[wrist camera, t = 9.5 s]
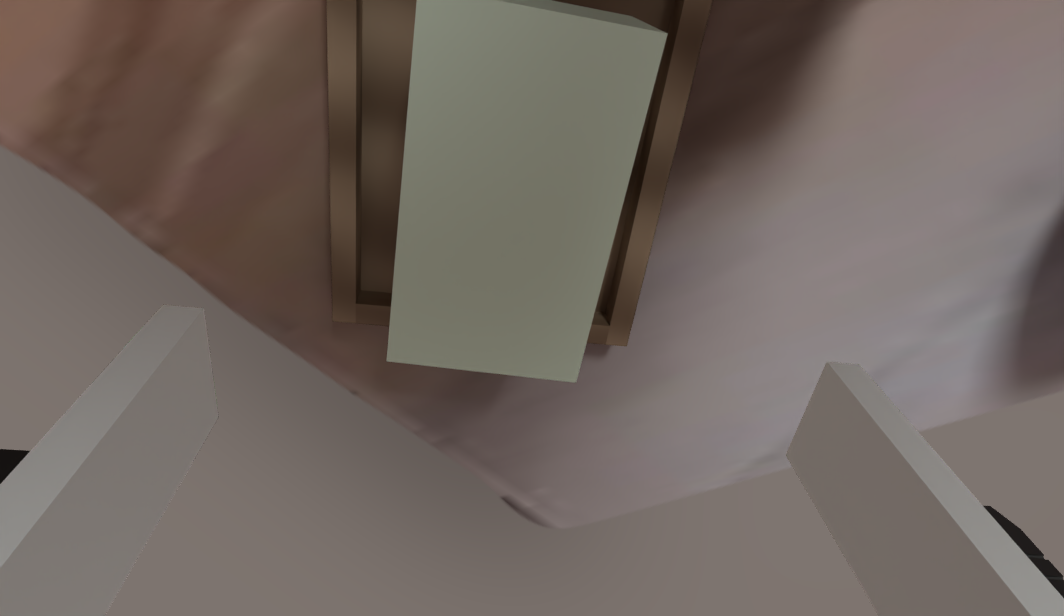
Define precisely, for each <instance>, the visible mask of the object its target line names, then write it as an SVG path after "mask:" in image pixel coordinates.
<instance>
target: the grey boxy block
mask: <svg viewBox="0 0 1064 616" xmlns="http://www.w3.org/2000/svg"><path fill="white" fill-rule="evenodd" d="M667 34H668V33H665V32H663V31H661V30H659V29H657V28H655V27H653V26H651V25H649V24H647V23H645V22H643V21H641V20H639V19H636V18H634V17H632V16H628V15H623V14H618V13H613V12H608V11H603V10H598V9H593V8H588V7H583V6H578V5H573V4H568V3H563V2H558V1H552V0H417V2H416V14H415V26H414V38H413V50H412V62H411V74H410V86H409V98H408V110H407V122H406V134H405V146H404V158H403V170H402V182H401V194H400V206H399V217H398V229H397V241H396V253H395V265H394V277H393V289H392V301H391V313H390V325H389V337H388V349H387V361H388V362H397V363H406V364H414V365H423V366H432V367H441V368H450V369H459V370H467V371H476V372H485V373H494V374H503V375H512V376H520V377H529V378H538V379H547V380H556V381H565V382H573V383H576V381H577V378H578V374H579V370H580V366H581V362H582V359H583V355H584V351H585V347H586V343H587V339H588V336H589V332H590V328H591V324H592V320H593V317H594V313H595V309H596V305H597V301H598V298H599V294H600V290H601V286H602V282H603V278H604V275H605V271H606V267H607V263H608V259H609V256H610V252H611V248H612V244H613V240H614V237H615V233H616V229H617V225H618V221H619V217H620V214H621V210H622V206H623V202H624V198H625V195H626V191H627V187H628V183H629V179H630V175H631V172H632V168H633V164H634V160H635V156H636V153H637V149H638V145H639V141H640V137H641V134H642V130H643V126H644V122H645V118H646V114H647V111H648V107H649V103H650V99H651V95H652V92H653V88H654V84H655V80H656V76H657V73H658V69H659V65H660V61H661V57H662V53H663V50H664V46H665V42H666V38H667Z"/></svg>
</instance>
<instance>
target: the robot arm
mask: <svg viewBox="0 0 1064 616" xmlns="http://www.w3.org/2000/svg"><path fill="white" fill-rule="evenodd" d="M218 417H219V416H218V408H217V401H216V393H215V386H214V379H213V371H212V363H211V356H210V348H209V341H208V333H207V326H206V318H205V311H204V308H198V307H186V306H175V305H162V306H161V307H160V308H159V310H158V311H157V312H156V313H155V314H154V315H153V316H152V317H151V318H150V319H149V321H148V322H147V323H146V324H145V325H144V326H143V327H142V328H141V330H140V331H139V332H138V333H137V334H136V335H135V336H134V337H133V338H132V339H131V341H130V342H129V343H128V344H127V345H126V346H125V347H124V348H123V349H122V351H121V352H120V353H119V354H118V355H117V356H116V357H115V358H114V359H113V360H112V362H111V363H110V364H109V365H108V366H107V367H106V368H105V369H104V371H102V372H101V374H100V375H99V376H98V377H97V378H96V379H95V380H94V381H93V382H92V384H91V385H90V386H89V387H88V388H87V389H86V390H85V391H84V392H83V394H82V395H81V396H80V397H79V398H78V399H77V400H76V401H75V402H74V403H73V405H72V406H71V407H70V408H69V409H68V410H67V411H66V412H65V413H64V415H63V416H62V417H61V418H60V419H59V420H58V421H57V422H56V424H54V426H53V427H52V428H51V429H50V430H49V431H48V432H47V433H46V435H44V437H43V438H42V439H41V440H40V441H39V442H38V443H37V444H36V445H35V447H34V448H33V449H32V450H31V451H23V450H6V449H0V616H105V615H106V613H107V611H108V609H109V608H110V606H111V604H112V602H113V601H114V599H115V597H116V595H117V594H118V592H119V590H120V588H121V586H122V585H123V583H124V581H125V580H126V578H127V576H128V574H129V573H130V571H131V569H132V567H133V566H134V564H135V562H136V560H137V559H138V557H139V555H140V553H141V552H142V550H143V548H144V546H145V545H146V543H147V541H148V539H149V538H150V536H151V534H152V533H153V531H154V529H155V527H156V526H157V524H158V522H159V520H160V518H161V517H162V515H163V513H164V512H165V510H166V508H167V506H168V505H169V503H170V501H171V499H172V497H173V496H174V494H175V492H176V491H177V489H178V487H179V485H180V484H181V482H182V480H183V478H184V477H185V475H186V473H187V471H188V470H189V468H190V466H191V465H192V463H193V461H194V459H195V457H196V456H197V454H198V452H199V450H200V449H201V447H202V445H203V444H204V441H205V440H206V438H207V437H208V435H209V433H210V431H211V430H212V428H213V426H214V424H215V423H216V421H217V419H218ZM786 456H787V458H788V460H789V462H790V463H791V465H792V467H793V469H794V470H795V472H796V474H797V476H798V477H799V479H800V481H801V483H802V484H803V486H804V487H805V489H806V491H807V493H808V495H809V496H810V498H811V499H812V502H813V503H814V505H815V507H816V509H817V510H818V512H819V514H820V515H821V517H822V519H823V521H824V522H825V524H826V526H827V528H828V529H829V531H830V533H831V534H832V536H833V538H834V539H835V541H836V543H837V545H838V547H839V548H840V550H841V552H842V554H843V555H844V557H845V558H846V561H847V562H848V564H849V566H850V567H851V569H852V571H853V573H854V574H855V576H856V578H857V579H858V581H859V583H860V585H861V586H862V588H863V590H864V592H865V593H866V595H867V597H868V599H869V600H870V602H871V604H872V606H873V607H874V609H875V611H876V613H877V614H878V616H1064V580H1063V575H1062V574H1061V573H1060V572H1059V571H1058V570H1057V569H1056V568H1055V567H1054V566H1053V564H1051V562H1050V561H1049V560H1045V559H1044V558H1043V556H1044V555H1043V553H1042V552H1041V551H1040V550H1039V549H1038V548H1037V547H1036V546H1035V545H1034V543H1033V542H1032V541H1031V540H1030V539H1029V538H1028V537H1027V536H1026V535H1025V533H1024V532H1023V531H1021V529H1020V528H1018V527H1017V526H1015V525H1014V524H1013V523H1012V522H1011V521H1009V520H1008V519H1007V518H1005V517H1004V516H1003V515H1001V514H1000V513H999V512H997V511H996V510H995V509H993V508H992V507H991V506H983V505H982V504H981V503H980V502H979V501H978V500H977V499H976V497H975V496H974V495H973V494H972V493H971V492H970V491H969V489H968V488H967V487H966V486H965V485H964V484H963V483H962V482H961V480H960V479H959V478H958V477H957V476H956V475H955V473H954V472H953V471H952V470H951V469H950V468H949V467H948V465H947V464H946V463H945V462H944V461H943V460H942V459H941V457H940V456H939V455H938V454H937V453H936V452H935V451H934V449H933V448H932V447H931V446H930V445H929V444H928V443H927V441H926V440H925V439H924V438H923V437H922V436H921V435H920V433H919V432H918V431H917V430H916V429H915V428H914V427H913V425H912V424H911V423H910V422H909V421H908V420H907V419H906V417H905V416H904V415H903V414H902V413H901V412H900V411H899V409H898V408H897V407H896V406H895V405H894V404H893V403H892V401H891V400H890V399H889V398H888V397H887V396H886V395H885V393H884V392H883V391H882V390H881V389H880V388H879V387H878V385H877V384H876V383H875V382H874V381H873V380H872V379H871V377H870V376H869V375H868V374H867V373H866V372H865V371H864V369H863V368H862V367H861V366H860V365H859V364H849V363H837V362H827V363H826V365H825V367H824V369H823V372H822V374H821V376H820V378H819V381H818V383H817V385H816V388H815V390H814V392H813V394H812V397H811V399H810V401H809V403H808V406H807V408H806V410H805V412H804V415H803V417H802V419H801V422H800V424H799V426H798V428H797V431H796V433H795V435H794V437H793V440H792V442H791V444H790V447H789V449H788V451H787V453H786Z"/></svg>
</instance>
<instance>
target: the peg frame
mask: <svg viewBox="0 0 1064 616" xmlns="http://www.w3.org/2000/svg"><path fill="white" fill-rule="evenodd" d="M552 1H558V2H563V3H568V4H573V5H578V6H583V7H588V8H593V9H598V10H603V11H608V12H613V13H618V14H623V15H628V16H632V17H634V18H636V19H639V20H641V21H643V22H645V23H647V24H649V25H651V26H653V27H655V28H657V29H659V30H661V31H663V32H665V33H668V34H667V38H666V42H665V46H664V50H663V53H662V57H661V61H660V65H659V69H658V73H657V76H656V80H655V84H654V88H653V92H652V95H651V99H650V103H649V107H648V111H647V114H646V118H645V122H644V126H643V130H642V134H641V137H640V141H639V145H638V149H637V153H636V156H635V160H634V164H633V168H632V172H631V175H630V179H629V183H628V187H627V191H626V195H625V198H624V202H623V206H622V210H621V214H620V217H619V221H618V225H617V229H616V233H615V237H614V240H613V244H612V248H611V252H610V256H609V259H608V263H607V267H606V271H605V275H604V278H603V282H602V286H601V290H600V294H599V298H598V301H597V305H596V309H595V313H594V317H593V320H592V324H591V328H590V332H589V336H588V339H587V343H593V344H605V345H617V346H627V343H628V339H629V335H630V331H631V327H632V323H633V319H634V315H635V311H636V307H637V303H638V299H639V295H640V291H641V287H642V283H643V279H644V275H645V271H646V267H647V263H648V259H649V255H650V251H651V247H652V243H653V239H654V234H655V230H656V226H657V222H658V218H659V214H660V210H661V206H662V202H663V198H664V194H665V190H666V186H667V182H668V178H669V174H670V170H671V166H672V162H673V158H674V154H675V150H676V146H677V142H678V138H679V134H680V130H681V126H682V122H683V118H684V114H685V110H686V106H687V102H688V98H689V94H690V90H691V85H692V81H693V77H694V73H695V69H696V65H697V61H698V57H699V53H700V49H701V45H702V41H703V37H704V33H705V29H706V25H707V21H708V17H709V13H710V9H711V5H712V1H713V0H552ZM416 2H417V0H327V52H328V107H329V161H330V216H331V271H332V321H334V322H346V323H358V324H369V325H381V326H389V325H390V313H391V301H392V289H393V277H394V265H395V253H396V241H397V229H398V217H399V206H400V194H401V182H402V170H403V158H404V146H405V134H406V122H407V110H408V98H409V86H410V74H411V62H412V50H413V38H414V26H415V14H416Z"/></svg>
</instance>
